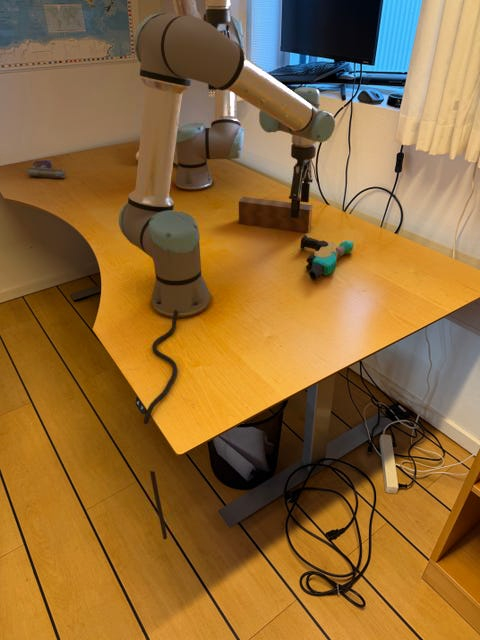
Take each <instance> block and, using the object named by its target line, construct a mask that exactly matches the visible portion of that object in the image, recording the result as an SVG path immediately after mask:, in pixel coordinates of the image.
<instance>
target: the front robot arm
mask: <svg viewBox="0 0 480 640" xmlns="http://www.w3.org/2000/svg"><path fill="white" fill-rule="evenodd" d="M133 50H134V54H135V57H136V58H137V60H138V62H139V63H140V65H139V66H140V68H139V79H140V80H141V82H142V83H143V85H144V96H143V97H144V98H143V107H142V115H141V117H142V118H141V128H140V129H141V130H140V137H139V138H140V139H139V148H138V149H139V150H138V151H139V157H138V161H137V168H136V178H135V187H134V190H132V192H130V193H129V194H128V198H127V202H126V203H125V205H124V206H122V207H121V209H120V211H119V214H118V226H119V229H120V232H121V234H122V235H123V236H124V237H125V239H126V240H127V241H128V242H129V243H130V244H131V245H133V246H135V247H137V248H138V249H139V250H141V251H142V252H143V253H145V254H146V255H147V256H149V257H150V258H151V259H152V260H153V261H152V262H153V268H154V274H155V275H154V276H155V281H154V284H153V290H152V294H151V305H152V308H153V310H154V311H155V312H156V313H157V314H159V315H160V316H163V317H167V318H171V320H172V321H171V328H170V329H169V330H168V331H167V332H165V334H163V335H161V336H159V337H158V338H157V339H155V340H154V342H153V343H152V346H151V347H152V351H153V353H154V354H155V355H156V356H157V357H159V358H160V359H162V360H164V361H165V362H168V363H169V364H170V366H171V368H172V374H171V376H170V378H169V380H168V382H167V384H166V386H165V387H164V388H163V390H162V391H161V393H160V394H159V395H158V396H156V397H155V398H154V399H153V400H152V401H151V403H149V406H148V408H147V409H146V412H145V415H144V418H143V424H144V425H148V424H149V422H150V418H151V414H152V412H153V410H154V409H155V407H156V406H157V405H158V404H159V402H161V401H162V400H163V399H164V397H166V395H167V394H168V392H170V390H171V388H172V386H173V384H174V382H175V381H176V378H177V376H178V366H177V363H176V362H175V360H174V359H173V358H171V357H170V356H168V355H166V354H164V353H162V352H161V351H160V350H158V348H157V347H158V345H159V344H160V343H161V342H162V341H164V340H166V339H167V338H169V337H170V336H171V335H173V333H174V332H175V330H176V327H177V319H183V318H185V319H186V318H190V317H194V316H196V315H199V314H201V313H202V312H204V311H205V310H207V308H208V307H209V306H210V303H211V294H210V290H209V288H208V286H207V284H206V281H205V278H204V277H203V275H202V262H201V261H202V259H201V247H200V246H201V243H200V240H201V236H200V230H199V226H198V223H197V220H196V218H194V217H193V216H192V215H190V214H189V213H187V212H184V211H177V210H174V207H175V201H174V200H173V198H172V197H171V196H170V192H171V185H172V177H173V168H174V165H173V162H174V161H175V154H176V138H177V131H178V128H179V123H180V116H181V115H180V113H181V106H182V100H183V95H184V93H185V92H186V91H188V90H190V88H191V82H192V80H193V81H197V82H200V83H204V84H207V85H208V84H209V85H212V86H213V87H215V88H217V89H218V90H221V91H225V90H229V91H231V92H232V93H234V94H236V97H239V98H241V99H242V100H243V101H245V102H246V103H248V104H250V105H252V106H253V107H255V108H256V109H258V110H259V113H258V122H259V125H260V127H261V129H262V130H263V131H264V132H266V133H269V134H270V133H277V132H283V133H287V134H290V135H291V143H292V144H291V146H290V157H291V158H292V159H294V160H296V163H295V164H294V166H293V173H292V179H291V186H290V194H289V195H288V199H289V200H290V203H291V218H297V219H299V215H300V204H301V203H309V202H310V190H311V189H310V187H311V184H312V183H313V181H314V179H313V175H312V173H313V172H312V160H313V159H315V157H316V151H317V150H316V149H317V145H316V144H317V143H325V142H327V141H329V140H330V138H331V137H332V136H333V134H334V131H335V128H336V119H335V117H334V115H333V114H332V113H330V112H328V111H326V110H323V109H320V105H321V104H320V90H319V89H317V88H315V87H309V86H303V87H297V88H295V89H294V90H292V89H290V88H288V86H286V85H285V84H283V83H282V82H281V81H280V80H278V79H276V78H275V77H274V76H272V75H271V74H269V73H268V72H267V71H266V70H264V69H263V68H261V66H259V65H258V64H256V63H254V62H253V61H252V60H250V59H249V58H247V56H246V55H245V51H244V48H241V47H240V46H239V45H237V44H236V43H235V42H233V41H232V40H231V39H229V38H228V37H227V36H225V35H224V34H223V33H221V32H220V31H219V30H217V29H216V28H215V27H213V26H212V25H210V24H209V23H207V22H205V21H204V20H202V19H200V18H197V17H194V16H183V15H176V13H175V14H174V13H167V12H161V13H154V14H150V15H148V16H147V17H146V18H144V19H143V20H141V22H140V23H139V25H138V26H137V28H136V31H135V33H134V37H133ZM174 163H175V162H174ZM149 475H150V480H151V486H152V492H153V496H154V500H155V506H156V511H157V514H158V520H159V524H160V529H161V533H162V539H163V540H167V539H168V535H167V533H168V532H167V528H166V523H165V517H164V513H163V509H162V503H161V499H160V493H159V488H158V481H157V478H156V471H153V470H150V471H149Z"/></svg>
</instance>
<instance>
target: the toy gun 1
mask: <svg viewBox="0 0 480 640" xmlns="http://www.w3.org/2000/svg"><path fill="white" fill-rule="evenodd" d="M52 167H53V162H52V160H51V159H38V160H36V161H34V162H33V163H32V166H29V167H28V169H27V170H26V174H27V175H28V176H30V177H37V178H52V179H53V178H54V179H55V178H56V179H65V175H66V174H67V171H66V170H63V169H62V168H61V169H60V168H52Z"/></svg>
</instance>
